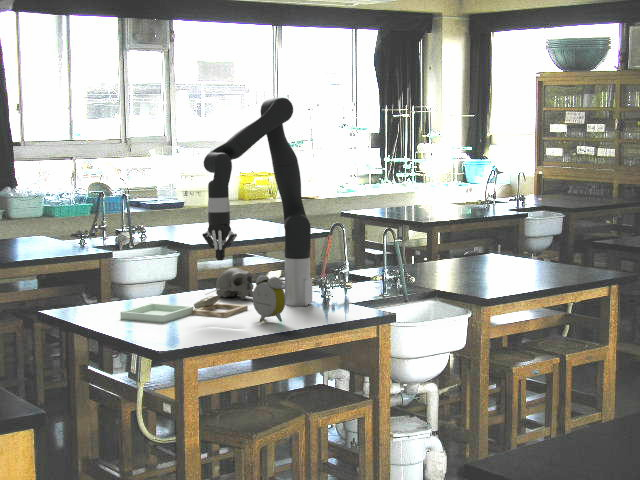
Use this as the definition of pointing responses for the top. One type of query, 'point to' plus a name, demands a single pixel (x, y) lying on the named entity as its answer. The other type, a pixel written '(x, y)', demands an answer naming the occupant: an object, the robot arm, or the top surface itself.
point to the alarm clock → (269, 297)
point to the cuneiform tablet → (207, 301)
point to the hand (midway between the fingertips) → (220, 260)
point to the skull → (235, 283)
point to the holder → (234, 308)
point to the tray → (156, 313)
